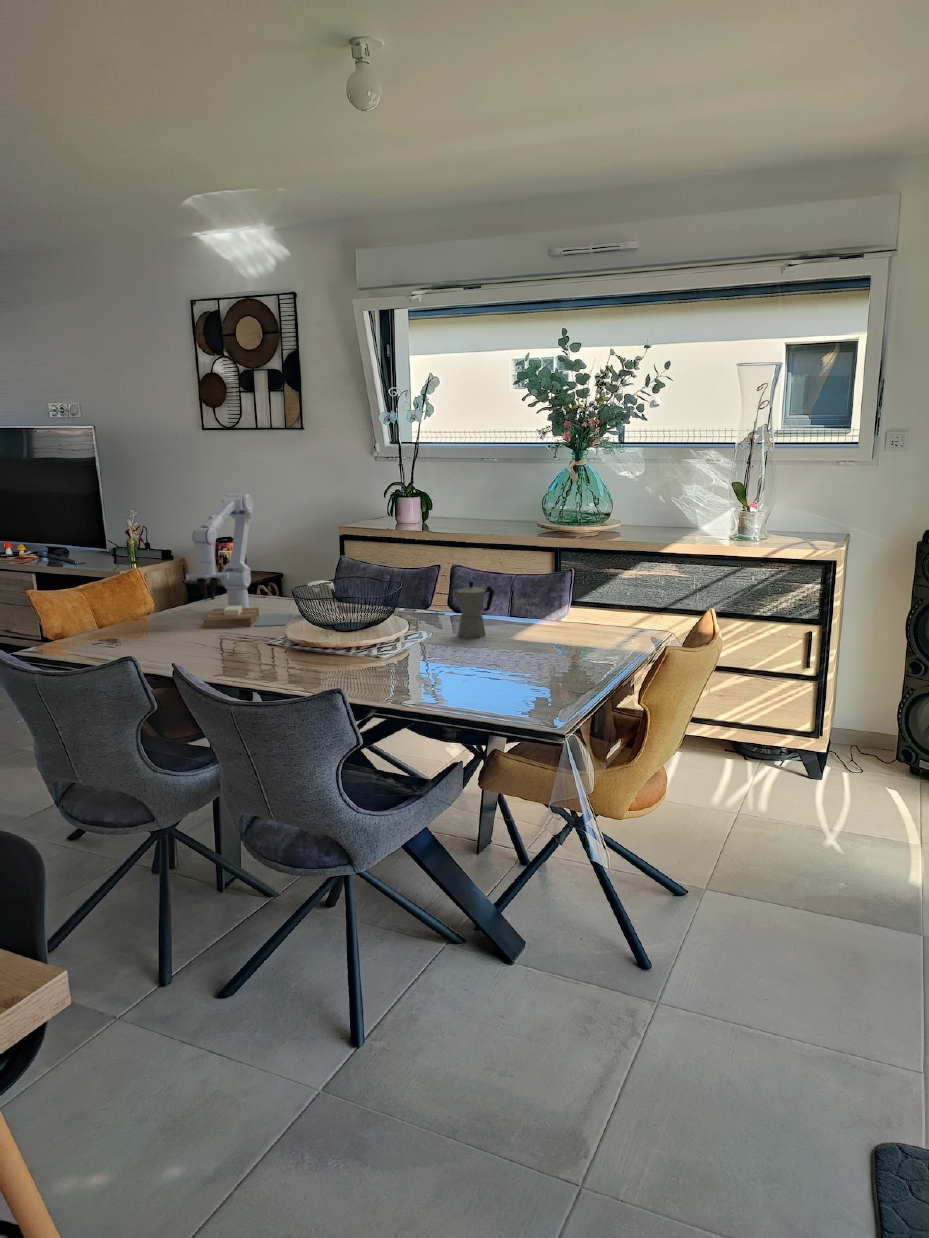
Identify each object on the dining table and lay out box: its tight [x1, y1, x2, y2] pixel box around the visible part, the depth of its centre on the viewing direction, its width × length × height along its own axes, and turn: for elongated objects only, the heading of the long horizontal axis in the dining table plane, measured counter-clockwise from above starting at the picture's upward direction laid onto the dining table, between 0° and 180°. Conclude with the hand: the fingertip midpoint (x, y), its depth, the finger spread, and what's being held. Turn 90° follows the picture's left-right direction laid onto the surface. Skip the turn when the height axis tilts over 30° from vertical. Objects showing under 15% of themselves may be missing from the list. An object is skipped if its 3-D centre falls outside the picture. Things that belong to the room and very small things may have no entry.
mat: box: [253, 612, 293, 627], centre depth 315 cm, size 18×11×1 cm, turn 4°
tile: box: [224, 605, 242, 616], centre depth 313 cm, size 7×5×2 cm
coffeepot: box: [453, 580, 495, 639], centre depth 288 cm, size 15×9×18 cm, turn 121°
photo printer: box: [306, 580, 335, 592], centre depth 323 cm, size 10×4×12 cm, turn 109°
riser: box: [203, 606, 260, 629], centre depth 314 cm, size 18×16×3 cm
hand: (209, 599), depth 312 cm, fingers closed
